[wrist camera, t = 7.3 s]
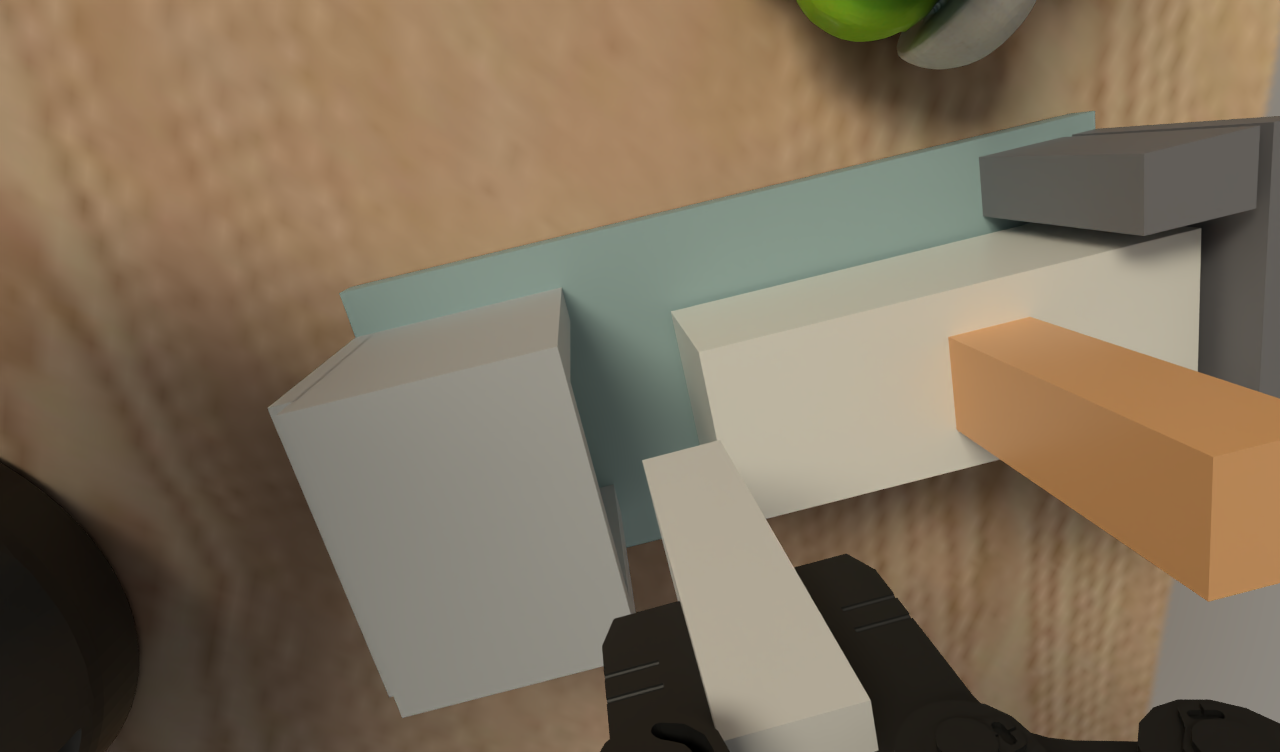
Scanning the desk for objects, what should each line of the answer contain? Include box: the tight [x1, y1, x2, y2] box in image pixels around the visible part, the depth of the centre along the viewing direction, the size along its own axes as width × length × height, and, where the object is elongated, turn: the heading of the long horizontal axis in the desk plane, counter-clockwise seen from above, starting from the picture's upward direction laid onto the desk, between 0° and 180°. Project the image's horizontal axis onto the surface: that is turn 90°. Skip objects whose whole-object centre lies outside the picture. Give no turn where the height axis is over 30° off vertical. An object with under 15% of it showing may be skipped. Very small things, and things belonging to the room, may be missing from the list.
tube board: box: [268, 111, 1280, 718], centre depth 18 cm, size 22×10×8 cm, turn 103°
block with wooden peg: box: [671, 223, 1280, 601], centre depth 15 cm, size 12×5×12 cm, turn 103°
